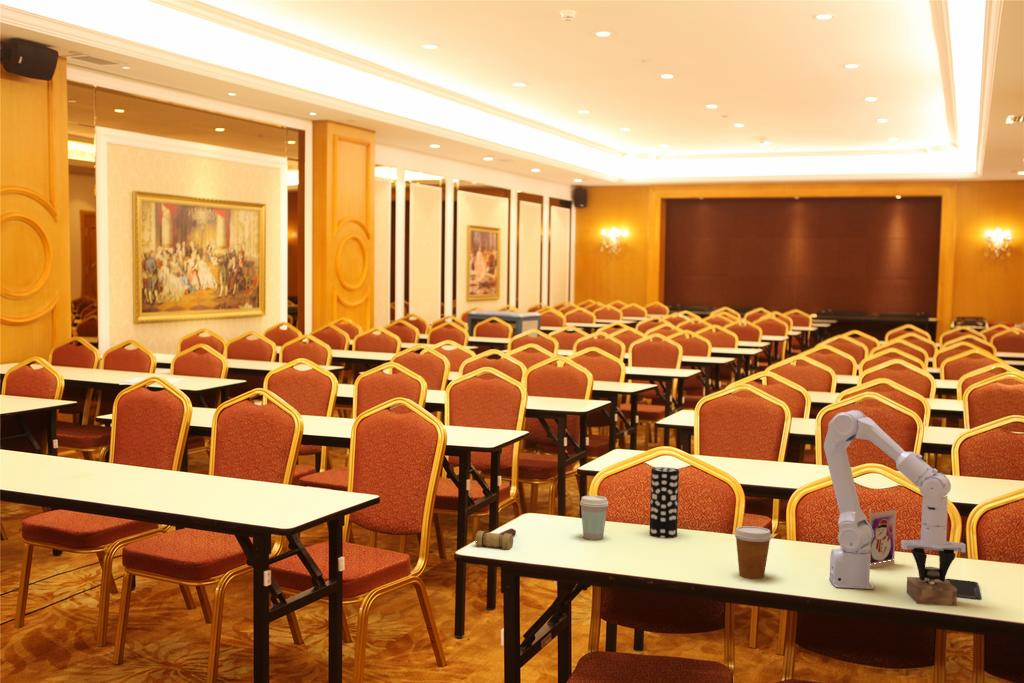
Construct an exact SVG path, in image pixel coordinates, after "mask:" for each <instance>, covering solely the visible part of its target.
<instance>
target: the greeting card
mask: <svg viewBox="0 0 1024 683" xmlns="http://www.w3.org/2000/svg"><path fill="white" fill-rule="evenodd" d="M868 523H869V525H870V526H871V527H872V529H873V532H874V537H873V540H872V541H871V542H870V543H869V547H870V549H871V550H870V564H871V565H870V569H873V568H874V569H875V568H879V567H884V566H889V565H890V566H891V565H894V564H895V552H896V551H895V550H896V549H895V548H896V528H897V526H896V525H897V524H896V523H897V509H891V510H886V511H878V512H873V513H872V509H869V522H868ZM893 559H894V560H893ZM888 560H891V561H888ZM883 561H886V562H883ZM879 562H881V563H879ZM874 563H876V564H874Z"/></svg>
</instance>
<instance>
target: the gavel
mask: <svg viewBox="0 0 1024 683" xmlns="http://www.w3.org/2000/svg"><path fill="white" fill-rule="evenodd" d="M516 533H517V531H516V529H514V528H508V529H506V530H504V531H502V532H499V533H495V532H487V531H485V530H478V531H477V532H476V534H475V540H474V541H475V545H476V547H480V548H483V547H487V548H495V549H502V550H508V551H509V550H511V549H512V548H513V546H514V537H515V536H516ZM476 541H477V542H476Z"/></svg>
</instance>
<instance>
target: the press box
mask: <svg viewBox="0 0 1024 683" xmlns="http://www.w3.org/2000/svg"><path fill="white" fill-rule="evenodd" d="M946 579H947V578H945V581H941V580H939V579H935V584H928V583H929V579H928V578H925V580H921V579H920V578H919V576H918V577H917V576H907V577H906V594H907V595H908V596H909V597H910V598H911V599H912V600H913V601H914V602H915V603H916V604H919V605H921V604H922V605H939V606H957V603H958V602H957V601H958V600H957V599H958V597H957V588H955V587H954V586H953V585H952V584H951V583H949V582H948V581H947V580H946Z"/></svg>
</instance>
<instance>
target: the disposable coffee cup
mask: <svg viewBox="0 0 1024 683" xmlns="http://www.w3.org/2000/svg"><path fill="white" fill-rule="evenodd" d="M733 533H734V534H733V535H734V536H735V540H736V541H735V542H736V551H737V562H738V574H739V576H740V577H743V578H747V579H762V578H764V576H765V572H766V567H767V565H766V564H767V562H768V561H767V560H768V555H769V550H770V548H769V547H770V542H771V540H772V537H773V536H772V534H771V530H770V529H768V528H766V527H762V526H753V525H752V526H751V525H745V526H744V525H743V526H738V527H736V528H735V532H733Z"/></svg>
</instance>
